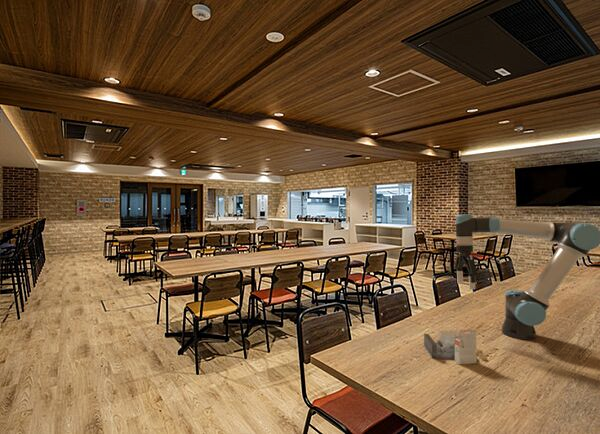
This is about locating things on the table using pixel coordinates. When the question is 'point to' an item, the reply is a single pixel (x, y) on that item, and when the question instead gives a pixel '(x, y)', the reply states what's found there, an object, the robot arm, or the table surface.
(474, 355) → the ink box
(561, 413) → the table surface
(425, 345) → the grey bookend
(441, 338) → the block
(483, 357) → the brass key
